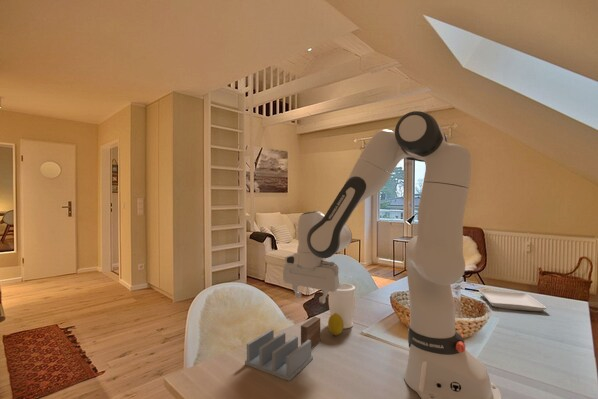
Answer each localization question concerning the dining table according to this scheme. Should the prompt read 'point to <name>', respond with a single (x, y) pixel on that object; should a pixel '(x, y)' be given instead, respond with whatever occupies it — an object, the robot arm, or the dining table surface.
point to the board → (311, 331)
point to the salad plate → (512, 300)
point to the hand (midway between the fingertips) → (309, 300)
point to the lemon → (335, 324)
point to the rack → (278, 355)
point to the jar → (343, 303)
